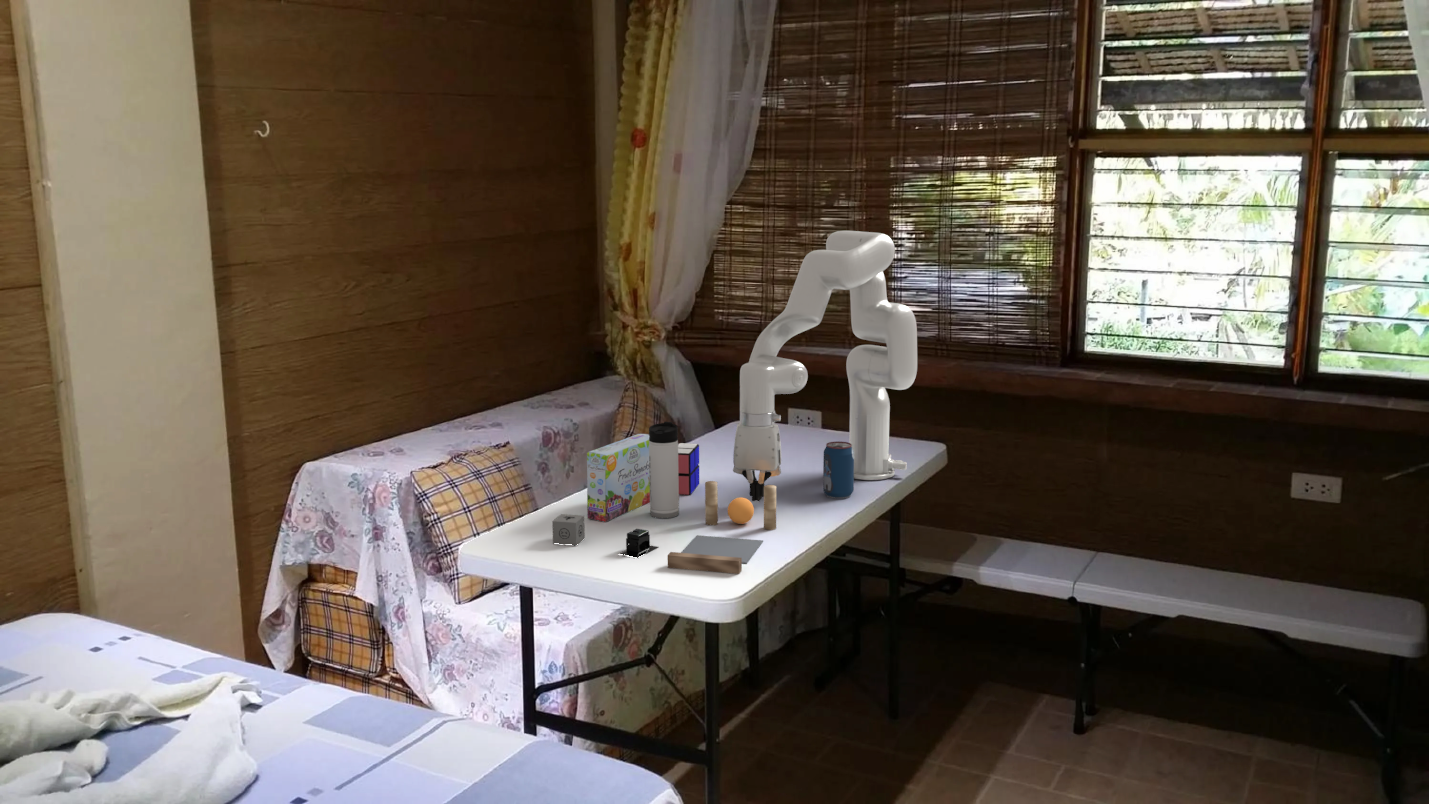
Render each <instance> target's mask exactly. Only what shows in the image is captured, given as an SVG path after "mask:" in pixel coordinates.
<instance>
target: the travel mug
mask: <svg viewBox="0 0 1429 804" xmlns="http://www.w3.org/2000/svg"><path fill="white" fill-rule="evenodd" d="M678 430H679V429H678V425H677V424H675V423H673V421H664V422H661V423H659V422H658V423H655V424H653V425H651V426H649V427H648V435H649V436H650V437H649V475H650V503H649V507H650V508H649V514H650V516H651V517H653V518H655V517H656V518H657V519H671V518H675V517H678V515H679V514H680V508H679V507H680V500H679V499H680V498H679V497H680V495H679V477H678V444H679V439H678V438H679V437H678V435H679V433H678V432H679V431H678Z"/></svg>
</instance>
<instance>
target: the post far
mask: <svg viewBox="0 0 1429 804" xmlns="http://www.w3.org/2000/svg"><path fill="white" fill-rule="evenodd" d="M704 492H705V493H704V498H705V499H704V503H705V504H704V505H705V506H704V510H705V513H704V514H705V515H704V516H705V520H704V521H705V522H704V523H705V525H706V526H717V525H718V520H719V517H718V516H719V515H718V514H719V513H718V512H719V511H718V508H719V507H718V499H719V498H718V496H719V495H718V482H717V481H716V480H707V481H705V482H704Z"/></svg>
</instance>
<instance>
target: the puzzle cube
mask: <svg viewBox="0 0 1429 804" xmlns="http://www.w3.org/2000/svg"><path fill="white" fill-rule="evenodd" d="M699 464H700V445H699V444H698V443H688V442H687V443H686V442H685V443H683V442H680V443H679V442H678V477H679V496H691V495H692V493H694V491H695V490H696V488H697V487H698V486H699V485H700V465H699Z"/></svg>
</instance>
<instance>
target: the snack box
mask: <svg viewBox="0 0 1429 804" xmlns="http://www.w3.org/2000/svg"><path fill="white" fill-rule="evenodd" d="M649 437H650V436H649V433H637V434H634V435H632V436H629V437H627V438H623V439H621V440H617V441H614V442H612V443H609V444H607V445H604V446H601V447H599V448H596V449H593V450H589V451H588V452H586V467H587V468H586V474H587V475H586V478H587V479H586V481H587V483H586V484H587V485H586V487H587V488H586V489H587V492H586V494H587V498H586V499H587V501H586V502H587V503H586V504H587V506H586V508H587V513H586V514H587V515H586V516H587V519H588V520H593V519H594V521H597V520H599V521H598V522H602V521H604V522H603V523H607V522H609V521H612V520H614V519H616V518H617V517H620V516H622V514H623V515H624V514H627V513H630V512H631V510H632V511H633V510H636V509H638V508H640V506H641V507H642V506H645V505H647V504H650V475H649ZM615 517H616V518H615Z"/></svg>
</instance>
